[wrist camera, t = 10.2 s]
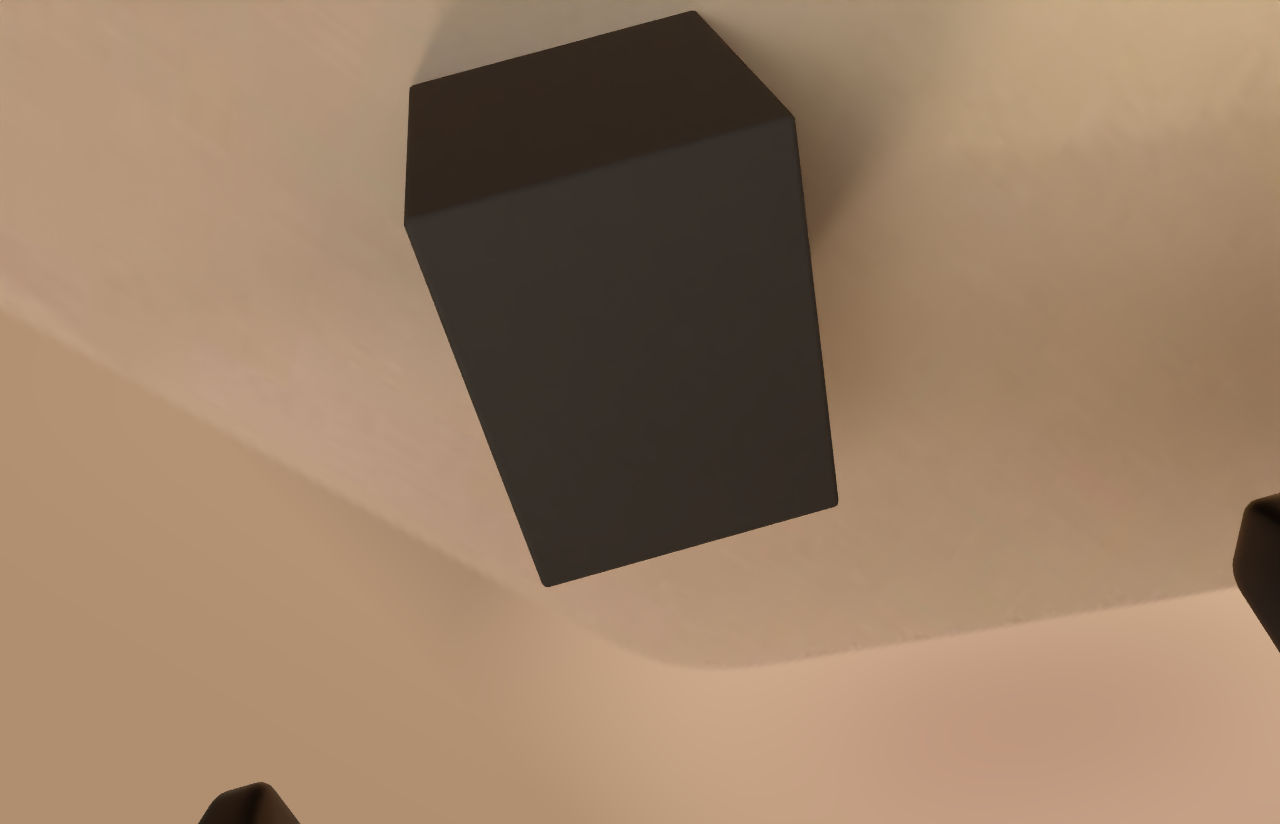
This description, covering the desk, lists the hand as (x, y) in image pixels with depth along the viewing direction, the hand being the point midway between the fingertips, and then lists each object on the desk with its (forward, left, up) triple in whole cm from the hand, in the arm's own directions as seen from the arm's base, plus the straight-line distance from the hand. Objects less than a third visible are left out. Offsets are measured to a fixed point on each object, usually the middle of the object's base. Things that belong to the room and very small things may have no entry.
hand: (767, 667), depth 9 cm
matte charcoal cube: (0, 0, -10) cm, 10 cm away
